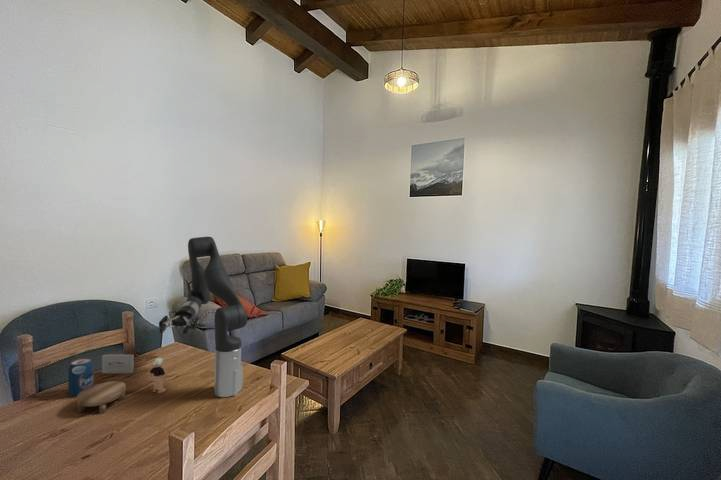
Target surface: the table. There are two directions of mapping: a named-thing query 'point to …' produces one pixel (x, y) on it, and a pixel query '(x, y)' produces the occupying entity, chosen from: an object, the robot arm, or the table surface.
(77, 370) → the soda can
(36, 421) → the table surface
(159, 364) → the grandmother figurine
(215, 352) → the robot arm
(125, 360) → the cassette
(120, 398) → the beige footstool
